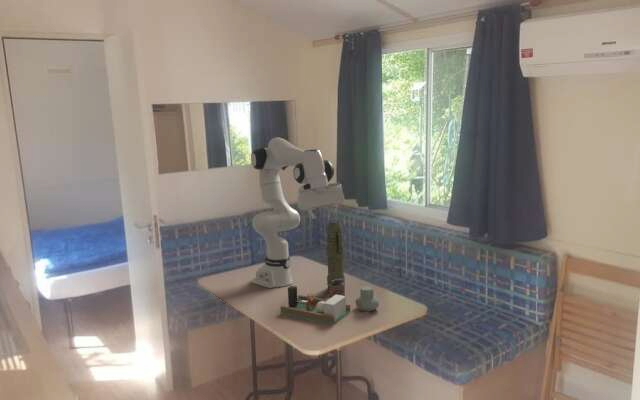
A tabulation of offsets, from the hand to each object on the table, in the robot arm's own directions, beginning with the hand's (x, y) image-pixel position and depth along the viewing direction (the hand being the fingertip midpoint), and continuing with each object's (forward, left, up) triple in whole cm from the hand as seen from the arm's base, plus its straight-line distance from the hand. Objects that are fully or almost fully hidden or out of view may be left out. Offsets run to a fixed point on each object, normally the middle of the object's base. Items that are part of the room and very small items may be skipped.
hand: (324, 216), depth 218 cm
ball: (-4, +2, -42) cm, 42 cm away
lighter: (-6, +21, -45) cm, 50 cm away
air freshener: (+12, +16, -45) cm, 50 cm away
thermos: (-13, +33, -45) cm, 57 cm away
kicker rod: (-15, +2, -44) cm, 46 cm away
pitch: (-7, +2, -45) cm, 46 cm away
